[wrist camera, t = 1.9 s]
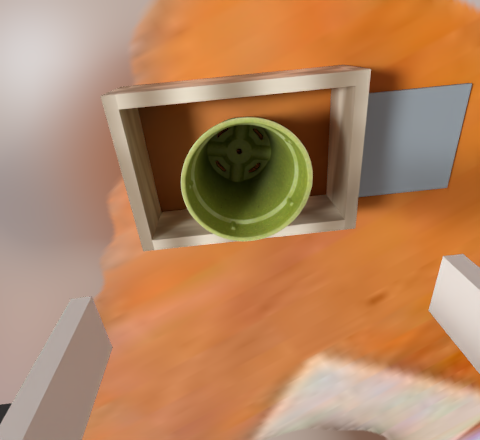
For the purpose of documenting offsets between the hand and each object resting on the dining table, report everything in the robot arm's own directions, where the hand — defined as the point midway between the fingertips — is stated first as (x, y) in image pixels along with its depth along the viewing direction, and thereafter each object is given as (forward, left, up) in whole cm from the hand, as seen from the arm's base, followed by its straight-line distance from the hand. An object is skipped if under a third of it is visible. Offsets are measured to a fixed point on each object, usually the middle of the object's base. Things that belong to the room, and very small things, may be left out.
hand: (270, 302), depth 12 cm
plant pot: (0, 0, -21) cm, 21 cm away
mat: (-16, +1, -21) cm, 26 cm away
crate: (0, 0, -21) cm, 21 cm away
